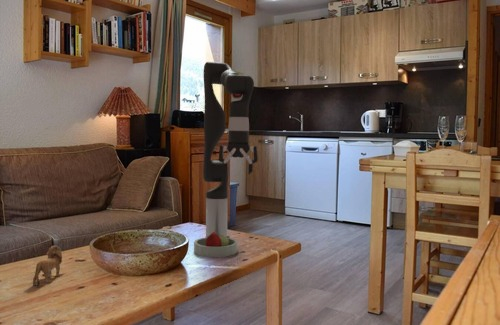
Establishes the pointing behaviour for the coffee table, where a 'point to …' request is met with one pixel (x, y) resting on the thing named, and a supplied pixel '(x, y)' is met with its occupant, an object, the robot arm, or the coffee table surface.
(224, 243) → the lime
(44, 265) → the lion figurine
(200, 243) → the bowl
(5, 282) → the coffee table surface
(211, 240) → the onion
